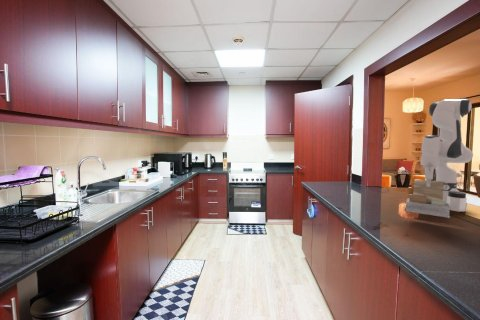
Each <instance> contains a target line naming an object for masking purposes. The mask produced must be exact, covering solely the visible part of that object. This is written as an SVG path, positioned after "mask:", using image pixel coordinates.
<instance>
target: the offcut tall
mask: <svg viewBox="0 0 480 320" xmlns="http://www.w3.org/2000/svg"><path fill="white" fill-rule="evenodd" d="M426 197H427V196H421V195H413V194H412V193H411V194H410V193H409V199H410V202H418V203H426Z"/></svg>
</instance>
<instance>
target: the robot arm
mask: <svg viewBox="0 0 480 320" xmlns="http://www.w3.org/2000/svg"><path fill="white" fill-rule="evenodd" d="M472 106H473V105H472V102H471V100H470V99H468V98H461V99H442V100H440V101H435V102H432V103H431V104H430V105H429V107H428V113H429V116H431V122H432V123H431V124H433V125H434V126H435V127H436V128H437V129H439V135H436V134H430V135H429V134H428V135H425V136H423V138H422V143H421V155H420V165H421V166H422V168H423V169H424V180H426V186H427V187H430V183H431V181H433V180H434V172H435V173H436V174H435V175H436V176H435V177H436V179H435V181H443V182H444V189H443V201H444V202H445V203H447V196H448V192H449V191H455V192H460V190H458V189H457V187H458V182H457V178H458V173H457V171H456V170H455V169H453V168H452V167H450V166H449V165H448V163H449V164H466V163H469V162H470V161H472V160H473V157H474V153H473V151H472V150H471V149H470V148H468V147H467V146H466V145H465V144H464V142H463V140H462V118H464V117H465V116H466V115H468V114H469V113H470V111H472V110H471V109H472ZM434 170H435V171H434Z"/></svg>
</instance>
